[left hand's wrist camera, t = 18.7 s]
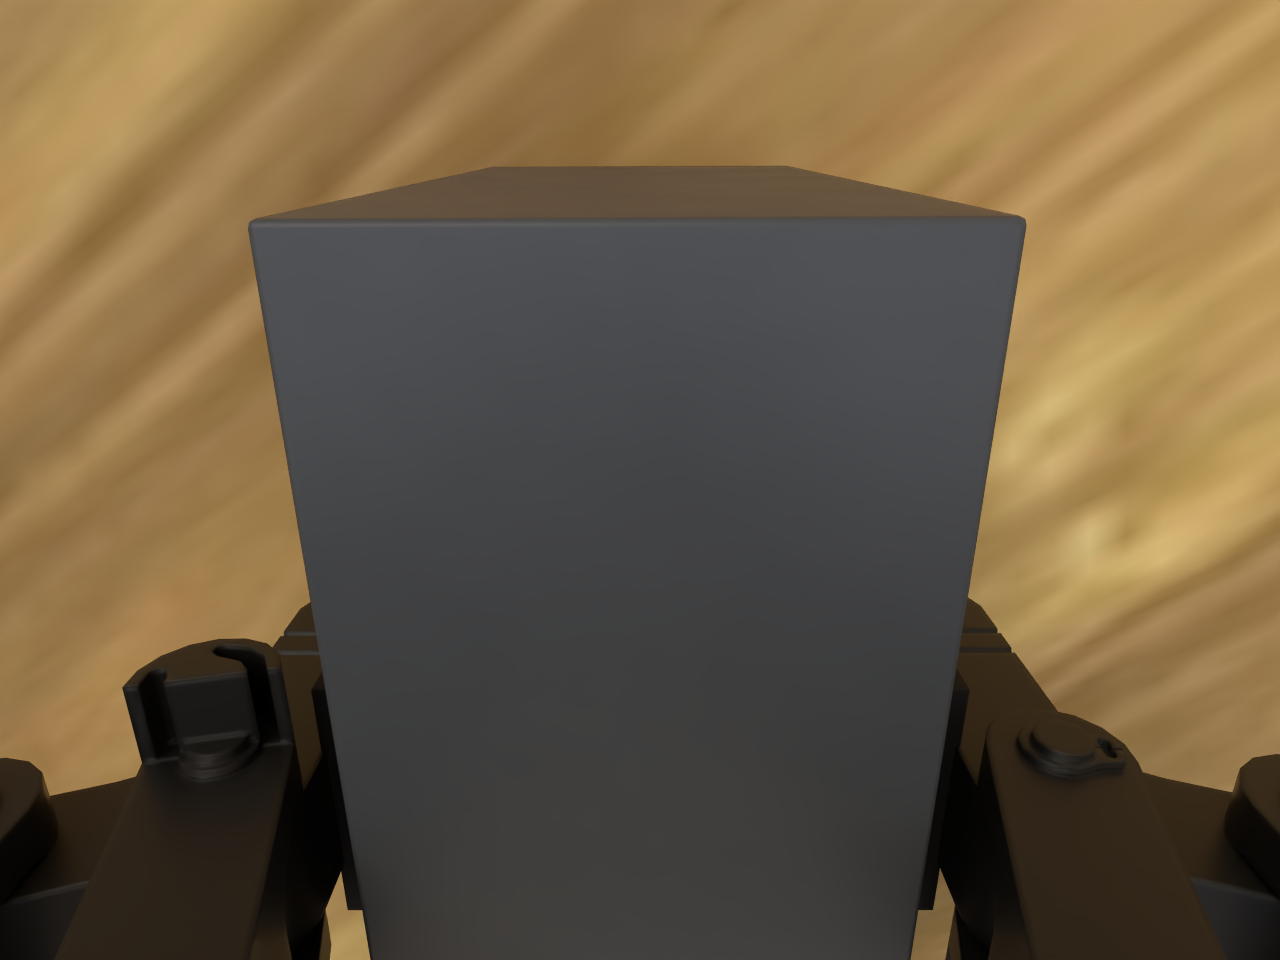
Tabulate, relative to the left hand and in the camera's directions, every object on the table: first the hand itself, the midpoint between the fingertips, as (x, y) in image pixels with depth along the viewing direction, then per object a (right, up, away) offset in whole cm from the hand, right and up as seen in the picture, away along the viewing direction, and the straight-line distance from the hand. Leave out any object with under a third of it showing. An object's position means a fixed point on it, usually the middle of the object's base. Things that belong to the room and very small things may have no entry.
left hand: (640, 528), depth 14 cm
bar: (0, -32, +14) cm, 35 cm away
